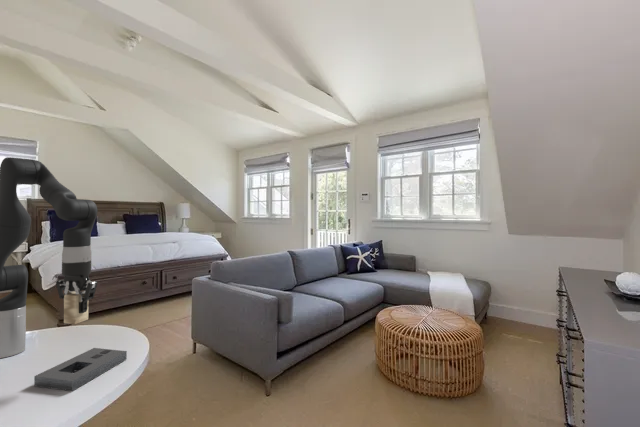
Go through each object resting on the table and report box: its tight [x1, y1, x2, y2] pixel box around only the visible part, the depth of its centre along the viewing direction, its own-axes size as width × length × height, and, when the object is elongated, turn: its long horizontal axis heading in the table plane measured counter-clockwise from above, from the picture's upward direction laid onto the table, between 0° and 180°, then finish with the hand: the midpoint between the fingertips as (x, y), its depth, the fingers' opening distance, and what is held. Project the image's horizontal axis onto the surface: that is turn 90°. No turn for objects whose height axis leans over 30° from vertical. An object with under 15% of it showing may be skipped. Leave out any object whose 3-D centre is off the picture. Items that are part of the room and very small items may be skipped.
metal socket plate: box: [33, 347, 128, 392], centre depth 101 cm, size 14×20×3 cm
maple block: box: [63, 293, 89, 325], centre depth 98 cm, size 4×4×9 cm
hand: (76, 311), depth 98 cm, fingers closed on maple block, 4 cm apart
